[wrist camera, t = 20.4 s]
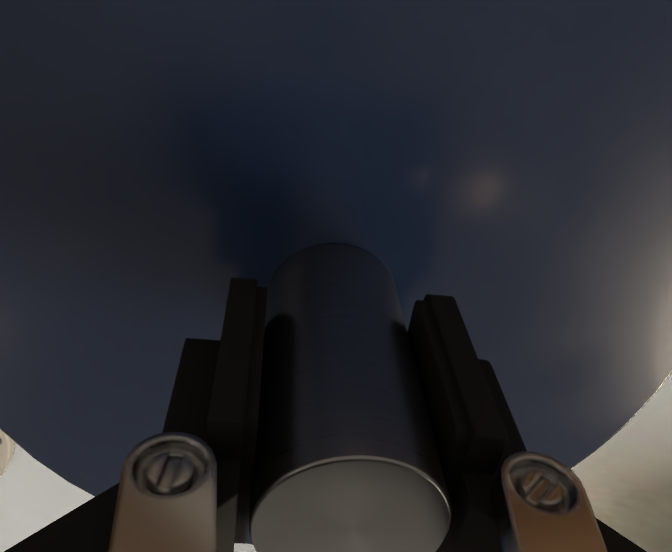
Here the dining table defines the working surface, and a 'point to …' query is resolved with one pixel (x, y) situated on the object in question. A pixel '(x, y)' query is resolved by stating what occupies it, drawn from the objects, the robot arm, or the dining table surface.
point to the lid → (332, 231)
